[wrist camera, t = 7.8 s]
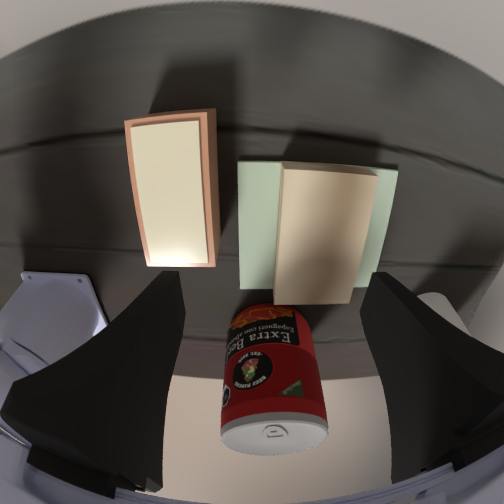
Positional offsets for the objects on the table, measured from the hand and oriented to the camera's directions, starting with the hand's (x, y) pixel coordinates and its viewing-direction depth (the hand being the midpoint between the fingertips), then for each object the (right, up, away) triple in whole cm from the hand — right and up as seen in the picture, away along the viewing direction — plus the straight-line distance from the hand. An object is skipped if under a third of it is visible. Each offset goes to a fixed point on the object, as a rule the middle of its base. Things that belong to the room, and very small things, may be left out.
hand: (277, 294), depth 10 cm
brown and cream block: (-5, +6, +8) cm, 11 cm away
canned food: (+1, -6, +16) cm, 17 cm away
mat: (+4, +3, +10) cm, 11 cm away
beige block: (+4, +3, +9) cm, 11 cm away
